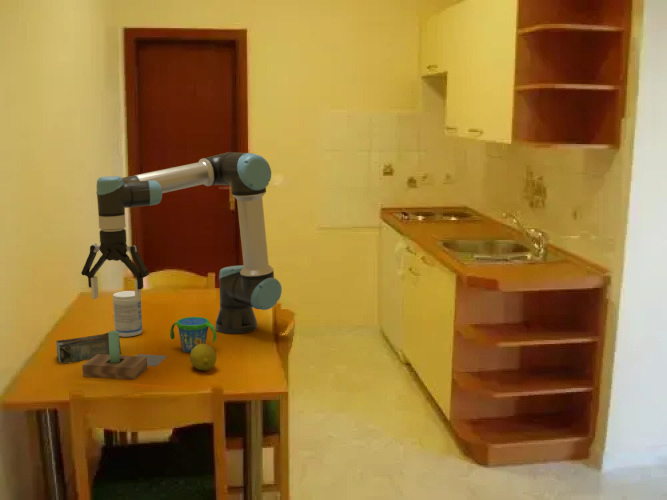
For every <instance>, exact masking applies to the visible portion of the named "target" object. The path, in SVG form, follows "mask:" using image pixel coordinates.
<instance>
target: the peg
mask: <svg viewBox="0 0 667 500" xmlns="http://www.w3.org/2000/svg"><path fill="white" fill-rule="evenodd" d="M107 333H108V334H109V353H110V363H117V364H119V363H120V355H121V354H120V353H121V344H120V345H119V339H120V336H119V331H115V330H111V331H108V332H107Z"/></svg>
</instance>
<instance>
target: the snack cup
mask: <svg viewBox="0 0 667 500" xmlns="http://www.w3.org/2000/svg"><path fill="white" fill-rule="evenodd" d="M175 326H177V329H178V334H179V340H180V345H181V349H182V351H183V352H184V353H189V354H191V351H192V349H193V348H194V347H195V346H197V345H199V344H207V338H208V330H209V328H210V330H211V332H212V333H213V338H212V343H213V344H214V343H215V342H216V340H217V337H218V336H217V330H216V326H214V325H213V324H212V323H211V322H210V320H209V319H208V318H206V317H202V316H187V317H183V318H182V317H181V318H180V319H178V320H176V321H175V322H174V323H173V324H172V325H171V326H170V331H169V335H170V339H171V340H174V339H175V335H176V334H175V331H174V330H175Z"/></svg>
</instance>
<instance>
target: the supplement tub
mask: <svg viewBox="0 0 667 500" xmlns="http://www.w3.org/2000/svg"><path fill="white" fill-rule="evenodd" d="M112 306H113V323H114V331H119V337H122V338H128V337H135V336H138V335H140V334H142V333H143V317H142V315H143V312H142V298H141V299H140V300H138V301H135V290H123V291H119V292H115V293H113V295H112Z"/></svg>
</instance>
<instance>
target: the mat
mask: <svg viewBox="0 0 667 500" xmlns="http://www.w3.org/2000/svg"><path fill="white" fill-rule="evenodd" d="M136 356H140V357H147V367H157V366H159V364H161V363H162V362H163V361H164V360H165V359H166V358H167V357H168V355H161V354H160V355H157V354H141V353H137V354H136Z"/></svg>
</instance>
